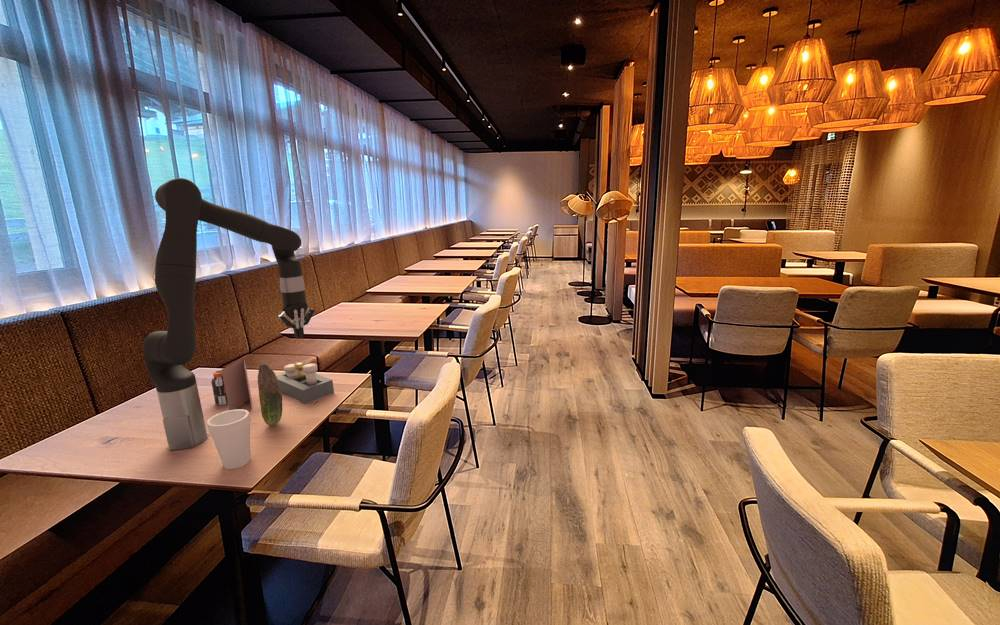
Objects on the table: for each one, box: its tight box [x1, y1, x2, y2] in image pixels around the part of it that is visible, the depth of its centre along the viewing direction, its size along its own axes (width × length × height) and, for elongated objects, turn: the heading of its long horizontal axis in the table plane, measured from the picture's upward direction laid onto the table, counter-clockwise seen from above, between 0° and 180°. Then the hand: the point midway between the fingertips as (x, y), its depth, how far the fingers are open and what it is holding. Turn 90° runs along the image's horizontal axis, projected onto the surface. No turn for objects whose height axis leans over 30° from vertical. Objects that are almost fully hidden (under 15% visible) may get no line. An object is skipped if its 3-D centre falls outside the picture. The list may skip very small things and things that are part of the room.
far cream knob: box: [283, 363, 297, 378], centre depth 166 cm, size 5×5×7 cm
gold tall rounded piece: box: [293, 361, 306, 382], centre depth 162 cm, size 4×4×7 cm
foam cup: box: [206, 408, 252, 470], centre depth 117 cm, size 10×9×13 cm
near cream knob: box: [303, 363, 318, 386], centre depth 157 cm, size 5×5×7 cm
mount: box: [276, 372, 335, 405], centre depth 163 cm, size 22×11×5 cm, turn 52°
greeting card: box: [221, 357, 253, 411], centre depth 152 cm, size 11×7×15 cm, turn 175°
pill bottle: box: [210, 369, 228, 406], centre depth 155 cm, size 6×6×11 cm
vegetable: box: [257, 363, 283, 427], centre depth 136 cm, size 6×6×20 cm
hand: (299, 338), depth 157 cm, fingers closed
